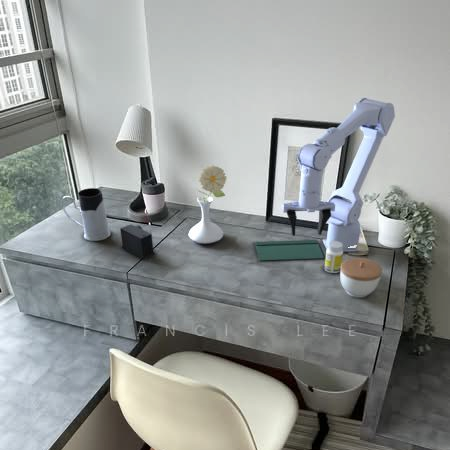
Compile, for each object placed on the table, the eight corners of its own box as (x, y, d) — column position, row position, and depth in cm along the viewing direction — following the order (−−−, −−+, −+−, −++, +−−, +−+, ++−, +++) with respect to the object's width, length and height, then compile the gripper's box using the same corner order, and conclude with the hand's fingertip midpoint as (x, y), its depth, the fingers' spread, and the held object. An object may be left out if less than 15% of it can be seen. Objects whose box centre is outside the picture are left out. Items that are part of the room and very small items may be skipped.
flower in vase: (183, 243, 157) (178, 168, 143) (197, 228, 166) (194, 156, 152) (220, 250, 153) (219, 173, 139) (233, 235, 162) (233, 161, 147)
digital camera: (157, 252, 152) (155, 232, 148) (143, 258, 149) (141, 238, 145) (136, 242, 158) (133, 222, 154) (122, 247, 155) (120, 228, 151)
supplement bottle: (341, 266, 144) (345, 241, 139) (339, 274, 140) (343, 249, 135) (325, 264, 145) (328, 239, 140) (322, 272, 142) (326, 246, 137)
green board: (316, 241, 157) (316, 239, 157) (324, 258, 148) (324, 256, 148) (255, 243, 157) (255, 241, 156) (259, 261, 147) (259, 259, 147)
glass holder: (107, 240, 159) (100, 197, 150) (64, 240, 159) (54, 197, 151) (113, 229, 166) (106, 187, 158) (71, 229, 166) (63, 187, 158)
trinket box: (332, 281, 137) (336, 252, 132) (369, 279, 138) (375, 250, 132) (343, 303, 128) (348, 273, 123) (383, 301, 129) (389, 271, 124)
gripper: (286, 195, 130) (283, 240, 137) (340, 194, 130) (334, 239, 138) (282, 185, 135) (280, 229, 143) (333, 184, 136) (328, 228, 144)
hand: (306, 233), depth 141 cm, fingers open, 7 cm apart
